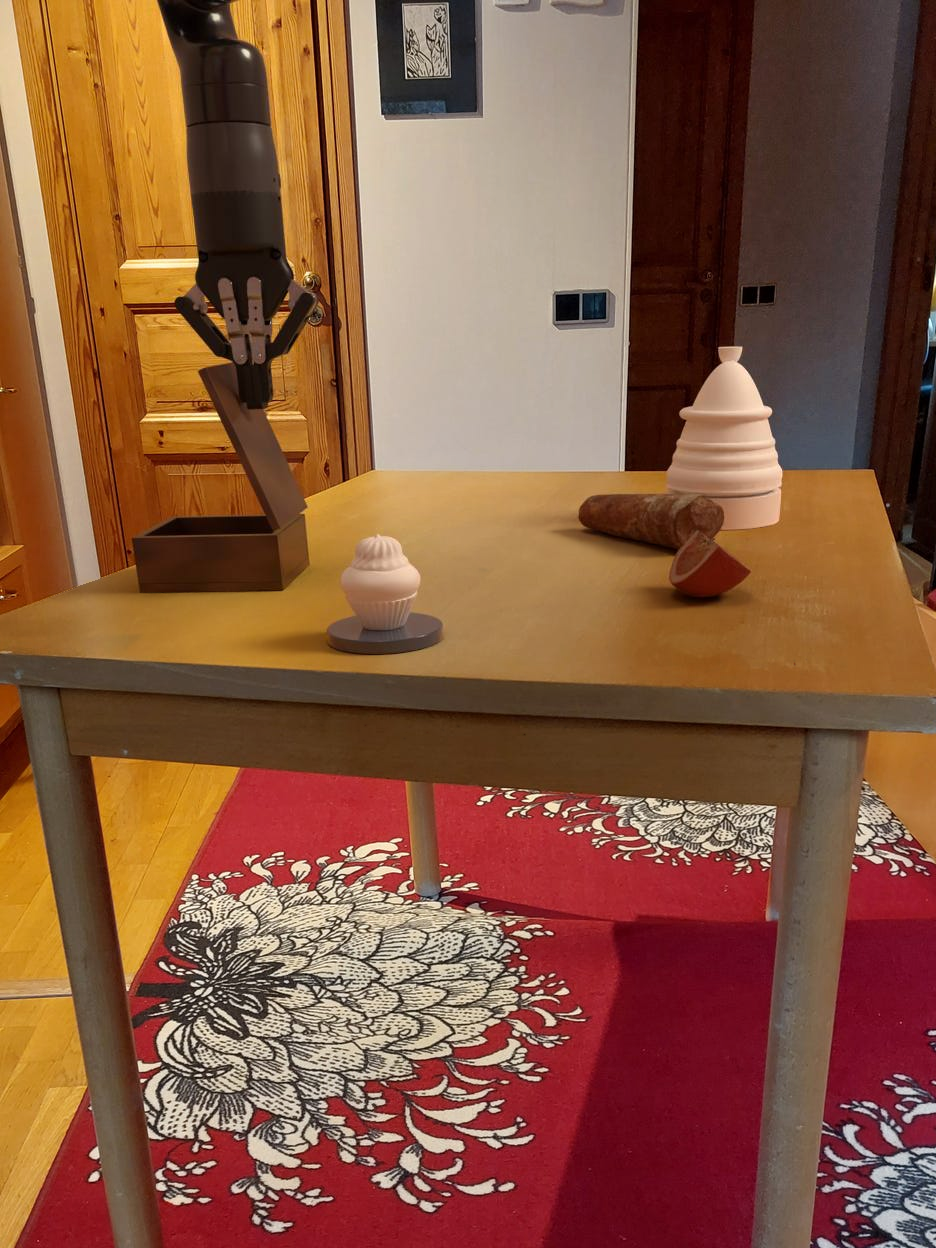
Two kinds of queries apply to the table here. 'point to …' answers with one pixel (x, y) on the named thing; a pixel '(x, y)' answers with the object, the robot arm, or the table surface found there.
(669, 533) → the brown cylinder
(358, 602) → the muffin
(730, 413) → the honey pot
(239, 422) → the lid
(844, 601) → the table surface
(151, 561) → the chest
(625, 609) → the table surface
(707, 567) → the fruit slice
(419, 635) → the plate
